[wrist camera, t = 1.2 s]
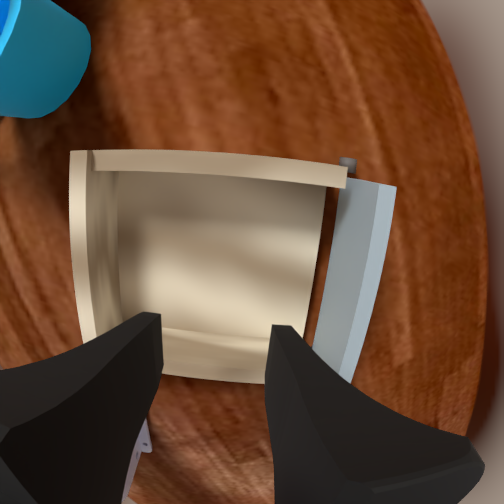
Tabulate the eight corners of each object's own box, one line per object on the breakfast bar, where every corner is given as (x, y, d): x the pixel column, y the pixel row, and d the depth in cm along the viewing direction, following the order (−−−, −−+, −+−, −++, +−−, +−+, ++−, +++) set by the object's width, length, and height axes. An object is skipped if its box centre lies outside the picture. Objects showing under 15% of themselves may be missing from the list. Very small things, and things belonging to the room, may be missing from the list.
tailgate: (323, 348, 20) (343, 403, 14) (311, 348, 19) (328, 404, 14) (354, 178, 16) (396, 187, 11) (341, 176, 16) (379, 183, 11)
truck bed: (318, 351, 21) (333, 397, 16) (117, 332, 21) (89, 372, 16) (351, 159, 17) (385, 160, 13) (112, 142, 17) (71, 138, 12)
